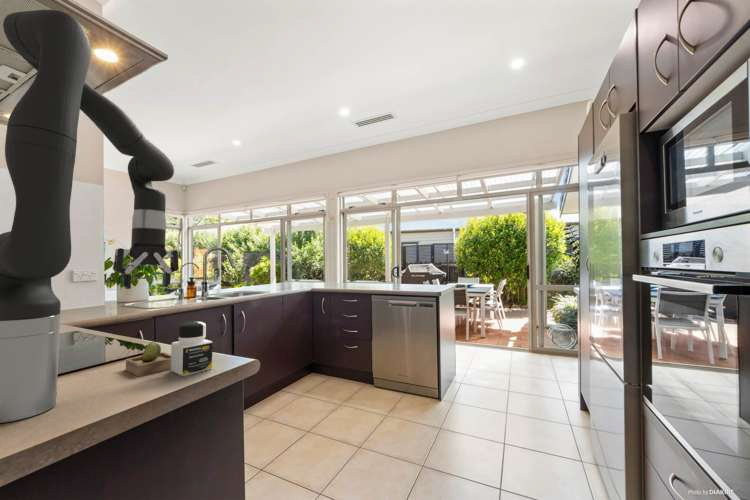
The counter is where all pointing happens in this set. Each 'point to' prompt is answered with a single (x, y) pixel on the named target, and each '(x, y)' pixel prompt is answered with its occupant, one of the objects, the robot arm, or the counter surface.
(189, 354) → the medicine bottle
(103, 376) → the counter surface
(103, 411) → the counter surface
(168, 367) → the base
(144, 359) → the lime
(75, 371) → the counter surface
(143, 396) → the counter surface
